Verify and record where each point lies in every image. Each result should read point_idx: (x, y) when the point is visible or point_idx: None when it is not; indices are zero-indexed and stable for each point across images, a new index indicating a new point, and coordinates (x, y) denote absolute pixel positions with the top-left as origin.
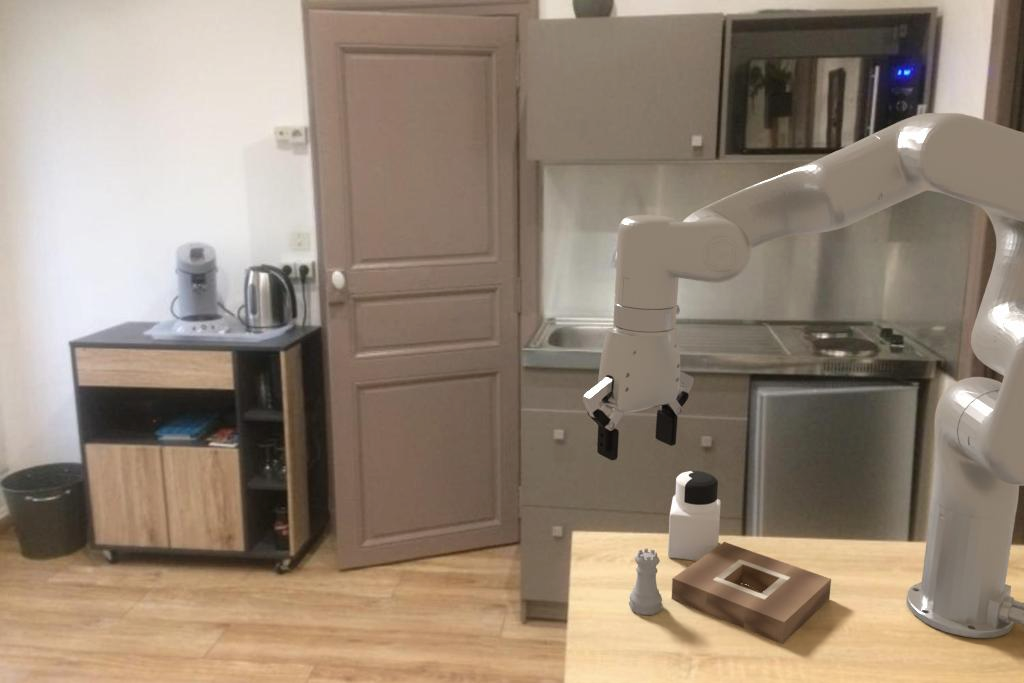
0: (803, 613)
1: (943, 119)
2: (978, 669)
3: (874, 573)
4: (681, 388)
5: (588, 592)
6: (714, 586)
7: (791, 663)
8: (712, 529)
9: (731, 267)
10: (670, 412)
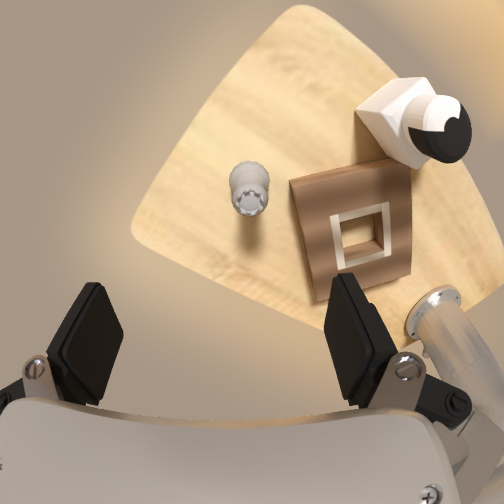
0: None
1: None
2: None
3: (454, 254)
4: (447, 445)
5: (210, 117)
6: (319, 227)
7: (296, 306)
8: (404, 161)
9: None
10: (358, 404)
